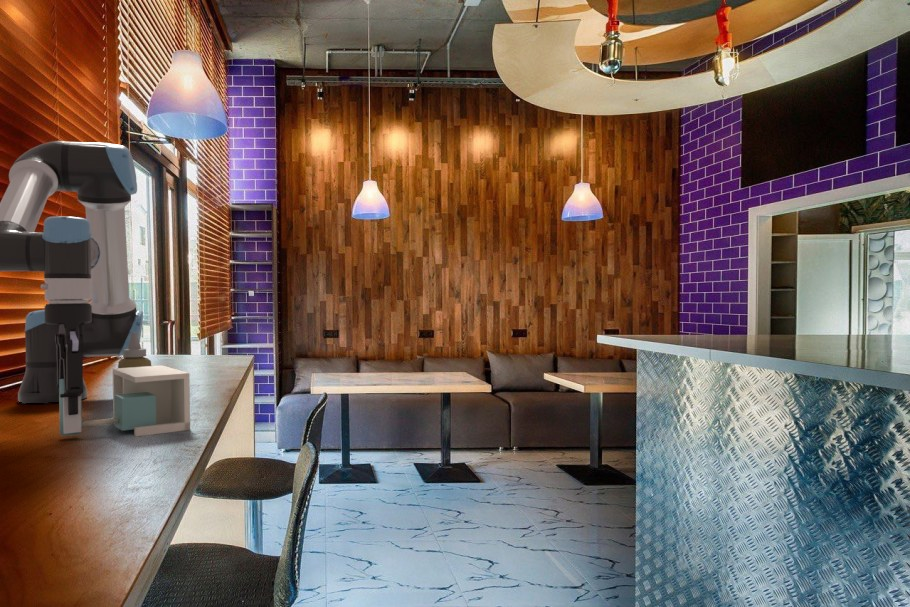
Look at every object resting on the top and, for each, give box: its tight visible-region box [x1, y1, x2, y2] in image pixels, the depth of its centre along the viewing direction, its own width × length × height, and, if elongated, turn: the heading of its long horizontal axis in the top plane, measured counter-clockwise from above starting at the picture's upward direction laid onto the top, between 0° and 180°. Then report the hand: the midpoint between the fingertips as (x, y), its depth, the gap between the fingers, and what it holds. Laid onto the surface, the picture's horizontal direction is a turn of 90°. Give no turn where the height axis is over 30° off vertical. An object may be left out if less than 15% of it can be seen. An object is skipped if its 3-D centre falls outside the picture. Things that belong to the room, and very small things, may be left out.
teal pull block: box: [58, 379, 156, 436], centre depth 130 cm, size 6×16×10 cm, turn 129°
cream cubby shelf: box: [112, 364, 191, 437], centre depth 139 cm, size 19×10×11 cm, turn 37°
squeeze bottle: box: [117, 333, 152, 368], centre depth 152 cm, size 8×8×18 cm
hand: (70, 430), depth 127 cm, fingers closed on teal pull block, 3 cm apart
